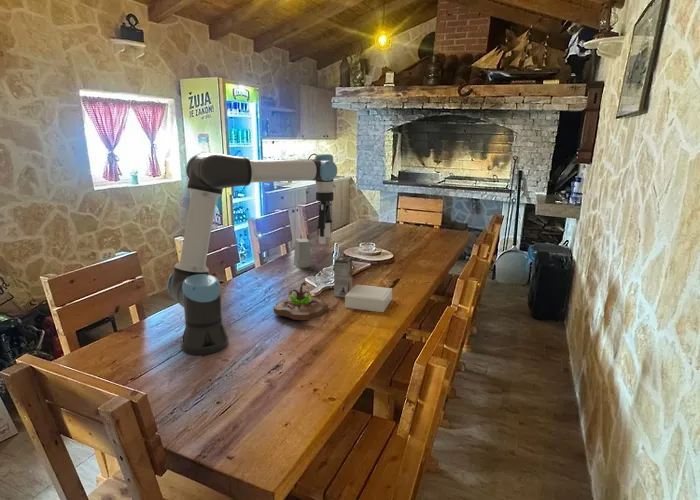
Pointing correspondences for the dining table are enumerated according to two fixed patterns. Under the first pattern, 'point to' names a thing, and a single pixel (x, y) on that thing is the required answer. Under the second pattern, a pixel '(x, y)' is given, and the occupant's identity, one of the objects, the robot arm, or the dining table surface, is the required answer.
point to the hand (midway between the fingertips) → (324, 240)
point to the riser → (368, 298)
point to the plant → (300, 306)
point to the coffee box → (342, 276)
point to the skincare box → (302, 253)
